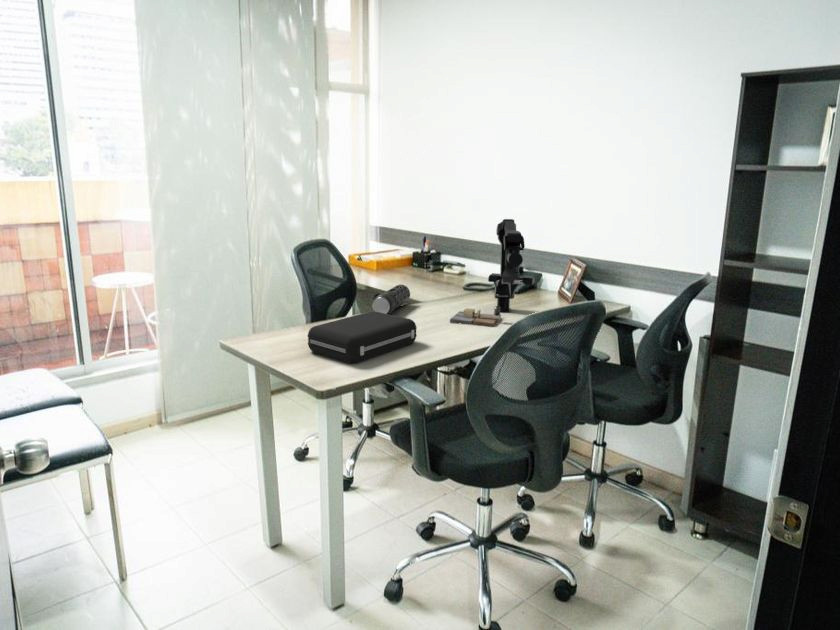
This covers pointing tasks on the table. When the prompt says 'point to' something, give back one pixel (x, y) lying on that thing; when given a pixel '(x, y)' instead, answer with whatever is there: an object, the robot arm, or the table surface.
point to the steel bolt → (493, 316)
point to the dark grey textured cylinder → (391, 299)
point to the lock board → (473, 320)
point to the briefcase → (361, 336)
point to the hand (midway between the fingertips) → (510, 298)
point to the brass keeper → (471, 313)
